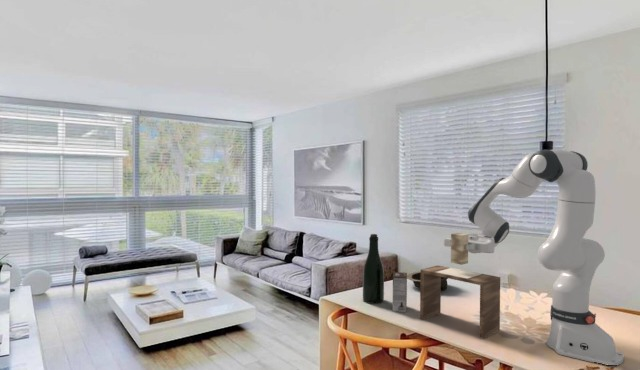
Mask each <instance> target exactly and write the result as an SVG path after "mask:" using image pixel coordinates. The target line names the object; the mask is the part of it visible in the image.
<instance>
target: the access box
mask: <svg viewBox="0 0 640 370" xmlns="http://www.w3.org/2000/svg"><path fill="white" fill-rule="evenodd" d="M420 271H421V274H420V288H419V289H420V292H419V293H420V294H419V319H420V320H426V319H429V318H431V317H433V316H436V315H439V314H440V313H441V305H442V304H441V301H442V299H441V296H442V294H441V293H442V292H441V291H442V290H441V277H444V278H448V279H450V280H453V281H458V282H459V281H460V282H464V283H467V284H468V283H469V284H473V285H477V286H479V296H480V297H479V339H486V338H488V337H489V336H491V335H494V334H495V333H497V332H499V331H500V329H501V328H500V327H501V323H500V322H501V277H500V276H495V275H490V274H485V273H481V272H474V271H469V270H465V269H459V268H454V267H448V266H444V265H434V266H430V267H426V268H423V269H420Z"/></svg>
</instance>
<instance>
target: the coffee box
mask: <svg viewBox="0 0 640 370" xmlns="http://www.w3.org/2000/svg"><path fill="white" fill-rule="evenodd" d="M407 275H408V273H407V272H396V271H393V273H392V312H396V311H399V313H406V312H407V305H408V304H407V299H408V297H407V296H408V289H407V288H408V279H407Z"/></svg>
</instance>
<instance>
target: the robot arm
mask: <svg viewBox="0 0 640 370" xmlns="http://www.w3.org/2000/svg"><path fill="white" fill-rule="evenodd" d="M587 170H588V160H587V159H586V157H585V156H584V155H583V154H581V153H579V152H578V151H574V150H570V151H569V150H563V149H541V150H537V151H536V152H529V153H528V154H526V155H524V157H523V158H522V159H520V161H519V162H518V163H517V164H516V166H515V167H514V169H513V170H512V172H511V174H510V175H508V176H507V177H501V178H499V179H498V180H496V181H495V182H494V183H493V184H492V185H491V186H490V187H489V189H487V190H486V191H485V193H484V194H483V195H482V196H481V197H480V198H479V200H478V201H476V202H475V203H474V204H473V206H472V207H470V208H469V210H468V212H467V217H468V220H469V222H471V223H472V224H473V225H475V226H477V227H478V228H479V229H480V230H481V231H477V232H476V231H475V232H471V233H468V234H469V235H468V245H464V249H467V250H468V253H471V254H481V253H484V254H494V253H495V248H496V247H498V245H499V244H500V243H502V242H503V240H505V239H506V237H507V236H508V235H509V233H510V222H508V221H507V220H506V219H505V218H503V217H502V216H501V215H499V214H498V212H495V210H493V209H492V208H491V207H490V205H491V204H492V203H493V202H494V200H495V199H496V198H497V197H498V196H499V195H504V196H507V197H511V198H515V199H525V198H529V197H530V196H532V195H533V194H534V193H535V192H536V191H537V189H538V188H539V186H540V185H541V184H542V181H546V182H549V183H553V182H555V183H556V184H557V185H558V195H557V196H558V197H557V198H558V199H557V205H556V206H557V207H556V213H555V214H556V216H555V221H554V224H553V227H552V230H551V231H550V234H549V235H548V237H547V239H546V240H545V241H544V242H542V244H540V246H539V247H538V250H537V259H538V262H539V263H540V264H541V266H543V267H544V268H545V269H547V270H550V271H556V272H560V274H559V276H558V277H557V279H556V280H554V282H553V284H552V304H551V305H550V328H549V329H550V330H549V333H548V338H547V340H546V345H547V346H548V347H550V348H551V349H553V350H554V351H555V352H556V353H557V354H558V355H561V356H565V357H569V358H574V359H577V360H582V361H586V362H591V363H594V362H597V363H596V364H598V363H604V364H608V365H617V366H619V365H621V364H622V363H623V362H624V359H625V358H624V356H625V355H624V354H623V353H622V352H621V351H619V350H617V349H616V345H615V344H616V343H615V340H614V339H613V337H612V335H610V334H609V333H608V332H606V331H605V330H604V329H603V328H601V326H599V325H598V324H597V323H596V317H597V313H593V312H591V310H589V309H590V307H589V306H590V289H591V285H592V282H593V279H594V276H595V273H596V271H597V269H598V268H599V266H600V265H601V264H602V263H603V261H604V260H605V250H604V247H603V246H602V244H600V243H599V242H598V241H595V240H594V239H593V240H592V239H589V238H584V236H585V234H586V232H587V231H588V230H589V229H590V228H591V227H592V226H593V223H594V218H595V217H594V215H595V207H596V193H597V192H596V181H595V180H596V179H595V176H594V175H593V173H592V172H590V171H587ZM443 246H444V247H447V248H451V236H450V237H444V239H443Z"/></svg>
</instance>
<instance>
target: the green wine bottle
mask: <svg viewBox="0 0 640 370" xmlns="http://www.w3.org/2000/svg"><path fill="white" fill-rule="evenodd" d="M368 239H369V241H368V242H369V243H368V244H369V245H368V246H369V247H368V253H367V257H366V260H365V262H364V265H363V273H362V300H363V302H366V303H369V304H382V302H384V301H385V273H384V265H383V261H382V260H381V256H380V253H379V237H378V234H377V233H370V236H369V238H368Z"/></svg>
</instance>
